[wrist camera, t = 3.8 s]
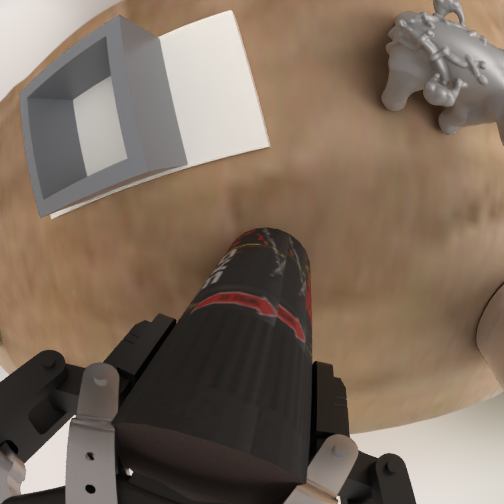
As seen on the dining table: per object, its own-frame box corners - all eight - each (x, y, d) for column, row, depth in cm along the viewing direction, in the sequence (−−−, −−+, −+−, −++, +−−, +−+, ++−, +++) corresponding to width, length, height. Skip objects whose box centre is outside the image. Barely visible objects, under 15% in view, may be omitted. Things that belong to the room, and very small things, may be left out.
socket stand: (235, 15, 14) (208, -28, 8) (270, 146, 17) (255, 144, 11) (38, 119, 18) (-10, 123, 13) (58, 216, 21) (11, 236, 16)
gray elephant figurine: (363, 17, 12) (382, -42, 5) (499, 47, 10) (552, 25, 3) (381, 140, 16) (422, 138, 9) (514, 157, 13) (578, 172, 6)
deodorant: (250, 211, 18) (115, 385, 4) (327, 257, 19) (354, 480, 5) (212, 279, 21) (99, 454, 7) (281, 318, 21) (243, 517, 7)
